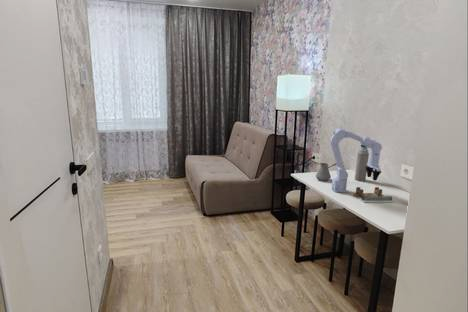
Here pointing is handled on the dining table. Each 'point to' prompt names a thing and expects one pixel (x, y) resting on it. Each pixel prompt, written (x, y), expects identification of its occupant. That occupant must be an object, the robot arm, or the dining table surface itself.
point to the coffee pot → (324, 172)
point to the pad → (376, 201)
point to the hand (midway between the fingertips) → (371, 178)
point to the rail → (376, 198)
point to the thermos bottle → (361, 164)
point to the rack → (360, 193)
